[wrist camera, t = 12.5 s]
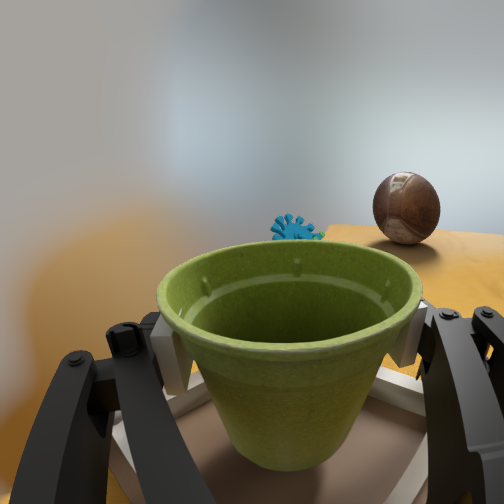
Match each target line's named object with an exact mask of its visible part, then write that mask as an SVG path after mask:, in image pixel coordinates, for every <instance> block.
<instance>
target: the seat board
mask: <svg viewBox="0 0 504 504" xmlns="http://www.w3.org/2000/svg"><path fill="white" fill-rule="evenodd" d="M163 393H164V395H165V398H166V400H167V403H168V405H169V408H170V410H171V412H172V415H173V417H174V419H175V422H176V424H177V426H178V428H179V431H180V433H181V435H182V437H183V439H184V442H185V444H186V446H187V448H188V450H189V452H190V454H191V456H192V458H193V460H194V462H195V464H196V466H197V468H198V470H199V472H200V474H201V475H202V477H203V479H204V481H205V483H206V485H207V486H208V488H209V490H210V492H211V494H212V495H213V497H214V499H215V500H216V502H217V504H426V501H427V493H428V443H427V426H426V413H425V403H424V394H423V386H422V380H420V379H418V380H416V378H414V377H411V376H408V375H405V374H402V373H399V372H396V371H393V370H390V369H387V368H385V367H382V366H380V368H379V370H378V373H377V375H376V377H375V380H374V382H373V384H372V386H371V389H370V391H369V393H368V395H367V397H366V399H365V402H364V404H363V406H362V408H361V410H360V412H359V414H358V416H357V418H356V420H355V422H354V424H353V426H352V428H351V430H350V432H349V434H348V436H347V438H346V440H345V441H344V443H343V444H342V446H341V447H340V448H339V449H338V450H337V451H336V452H335V453H334V454H333V455H332V456H331V457H330V458H329V459H328V460H326V461H325V462H323V463H321V464H319V465H317V466H314V467H311V468H308V469H304V470H300V471H290V472H283V471H274V470H269V469H265V468H263V467H260V466H259V465H257V464H255V463H254V462H252V461H251V460H249V459H248V458H246V457H245V456H243V455H242V454H240V453H239V452H238V451H237V450H236V448H235V447H234V445H233V444H232V442H231V440H230V438H229V436H228V433H227V431H226V429H225V427H224V425H223V423H222V420H221V418H220V416H219V414H218V412H217V409H216V407H215V405H214V403H213V400H212V398H211V396H210V393H209V391H208V389H207V387H206V384H205V382H204V380H203V378H202V375H201V373H200V371H197V372H195V373H193V374H191V375H190V379H189V384H188V390H187V395H186V396H171V395H167V394H166V391H165V387H164V388H163ZM109 468H110V469H111V471H112V473H113V474H114V476H115V478H116V480H117V481H118V483H119V485H120V486H121V488H122V489H123V491H124V493H125V494H126V496H127V497H128V499H129V500H130V502H131V503H132V504H146V501H145V498H144V495H143V493H142V490H141V486H140V483H139V480H138V477H137V474H136V470H135V467H134V463H133V460H132V456H131V453H130V449H129V445H128V441H127V437H126V432H125V428H124V423H123V419H122V414H121V410H120V411H115V417H114V424H113V431H112V439H111V447H110V456H109Z"/></svg>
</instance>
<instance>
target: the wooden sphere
mask: <svg viewBox="0 0 504 504" xmlns="http://www.w3.org/2000/svg"><path fill="white" fill-rule="evenodd" d="M373 214H374V218H375V221H376V223H377V225H378V227H379V229H380V230H381V231H382V232H383V234H384V235H386V236H387V237H388V238H389V239H391V240H393V241H395V242H397V243H401V244H415V243H418V242H421V241H423V240H425V239H426V238H427V237H429V236H430V235H431V234H432V232H433V231H434V230H435V228H436V226H437V224H438V221H439V217H440V202H439V198H438V195H437V193H436V191H435V189H434V188H433V186H432V185H431V184H430V183H429V182H428V181H427V180H426V179H425V178H423V177H421V176H420V175H417V174H415V173H411V172H400V173H396V174H393V175H391V176H389V177H387V178H386V179H385V180H384V181H383V182H382V183H381V184H380V185H379V187H378V188H377V190H376V193H375V195H374V199H373Z"/></svg>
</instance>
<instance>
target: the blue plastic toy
mask: <svg viewBox="0 0 504 504" xmlns="http://www.w3.org/2000/svg"><path fill="white" fill-rule="evenodd" d="M284 218H285V220H286V222H287V225H286V224H284V219H283V217H282V216H279V217H277V218H276V219H275V222H276V223H277V224H276V223H274V224H273V226H272V227H271V229H270V230H271V231H272V232H275V233H277V234H275V235H274V236H273V238H272V239H273V241H274V240H296V239H299V240H302V239H307V240H321V239H322V238H323V237H324V236H325V234H324V233H323V232H320V233H317V234H313V233H311V232H312V231H313V230H314V226H313V225H312V224H311V223H310V224H309V225H308V226H301V225H300V224H302V223H303V222H304V219H303V218H302V217H300V216H299V217H298V218H297V219H296V223H295V224H294V223H292V222H291V220H292V218H293V216H292V215H290V214H286V216H285V217H284ZM279 226H280V227H281V229H282V230H281V229H280V228H279ZM278 234H279V235H280V236H281V237H282V238H281V237H280V236H279V235H278Z"/></svg>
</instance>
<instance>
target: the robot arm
mask: <svg viewBox="0 0 504 504" xmlns="http://www.w3.org/2000/svg"><path fill="white" fill-rule="evenodd" d="M181 310H182V308H181ZM181 310H180V312H179V316H180V315H181ZM106 338H107V341H108V344H109V347H110V350H111V353H112V358H108V359H104V360H97V361H94V359H93V356H92V355H91V353H90V352H88V351H83V350H80V351H74V352H71V353H69V354H68V355H66V356H65V357H64V358H63V359H62V361H61V362H60V365H59V367H58V369H57V371H56V373H55V375H54V377H53V379H52V381H51V383H50V386H49V388H48V390H47V393H46V395H45V397H44V399H43V402H42V404H41V406H40V409H39V411H38V414H37V416H36V419H35V421H34V424H33V426H32V429H31V431H30V434H29V437H28V440H27V443H26V445H25V448H24V451H23V454H22V457H21V460H20V464H19V467H18V470H17V474H16V477H15V481H14V484H13V488H12V492H11V496H10V500H9V504H106V494H107V478H108V466H109V456H110V447H111V439H112V431H113V424H114V417H115V411H120V410H121V414H122V419H123V423H124V428H125V432H126V437H127V441H128V445H129V449H130V453H131V456H132V460H133V463H134V467H135V470H136V474H137V477H138V480H139V483H140V486H141V490H142V493H143V495H144V498H145V501H146V504H217V502H216V500H215V499H214V497H213V495H212V494H211V492H210V490H209V488H208V486H207V485H206V483H205V481H204V479H203V477H202V475H201V474H200V472H199V470H198V468H197V466H196V464H195V462H194V460H193V458H192V456H191V454H190V452H189V450H188V448H187V446H186V444H185V442H184V439H183V437H182V435H181V433H180V431H179V428H178V426H177V424H176V422H175V419H174V417H173V415H172V412H171V410H170V408H169V405H168V403H167V400H166V398H165V395H164V393H163V386H164V387H165V391H166V394H167V395H171V396H186V395H187V390H188V384H189V379H190V374H191V368H192V363H193V358H192V357H191V356H190V355H189V353H188V352H187V351H186V349H185V347H184V345H183V343H182V341H181V338H180V336H179V334H178V333H177V332H175V331H174V330H173V329H172V328H171V327H170V326H169V325H168V324H167V323H166V322H165V320H164V319H163V317H162V315H161V313H160V312H150V313H149V314H148V315H146V316H145V317H144V318H143V319H142V321H141V323H140V324H137V323H135V322H125V323H120V324H117V325H115V326H113V327H111V328H110V329H109V330H108V331H107V333H106ZM490 345H491V346H492V347H493V348H494V350H493V352H492V355H491V357H490V359H488V357H487V356H486V355H487V353H488V350H489V347H490ZM417 352H418V353H419V354H420V355H421V357H422V359H421V362H420V366H419V369H418V372H417V375H416V380H418V378H419V376H420V375H421V378H422V379H421V380H422V386H423V394H424V403H425V413H426V426H427V443H428V493H427V501H426V504H504V318H503V317H502V316H501V315H500V314H499V313H498V312H497V311H495V310H494V309H491V308H490V307H486V306H483V307H477V308H476V309H475V310H474V314H473V317H472V318H462V317H461V315H460V314H459V313H458V312H457V311H455V310H452V309H448V308H439V309H437V308H435V307H434V306H433V305H431V304H430V303H429V302H428V301H426V300H425V299H424V298H422V299H421V303H420V306H419V308H418V310H417V312H416V313H415V315H414V316H413V317H412V319H411V320H410V321H409V322H408V323H407V324H406V325H405V326H404V327H402V328H401V329H400V332H399V334H398V337H397V339H396V341H395V343H394V345H393V346H392V348H391V349H390V350H389V352H388V354H389V355H390V356H391V358H392V359H393V360H394V362H395V363H396V364H397V366H398V367H399V368H402V367H405V366H409V365H412V364H414V362H415V359H416V355H417Z"/></svg>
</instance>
